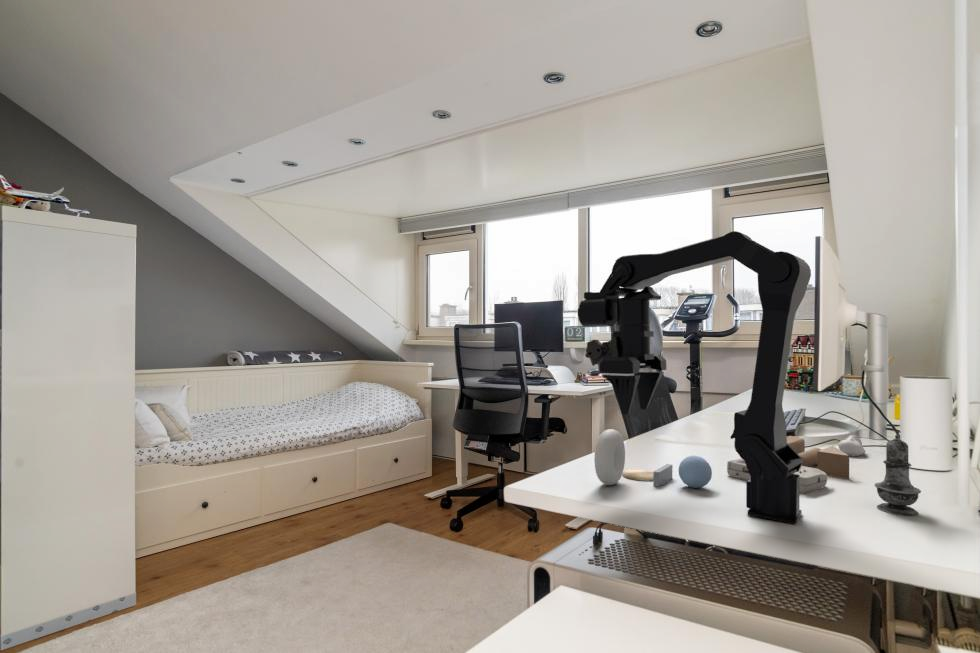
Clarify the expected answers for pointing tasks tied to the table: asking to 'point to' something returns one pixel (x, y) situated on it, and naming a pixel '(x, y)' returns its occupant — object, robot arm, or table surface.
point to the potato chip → (639, 475)
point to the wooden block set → (822, 458)
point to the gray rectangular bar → (662, 475)
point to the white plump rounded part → (609, 457)
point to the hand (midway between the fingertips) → (634, 411)
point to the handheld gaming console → (808, 476)
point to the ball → (695, 471)
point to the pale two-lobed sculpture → (852, 446)
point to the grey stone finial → (897, 481)
